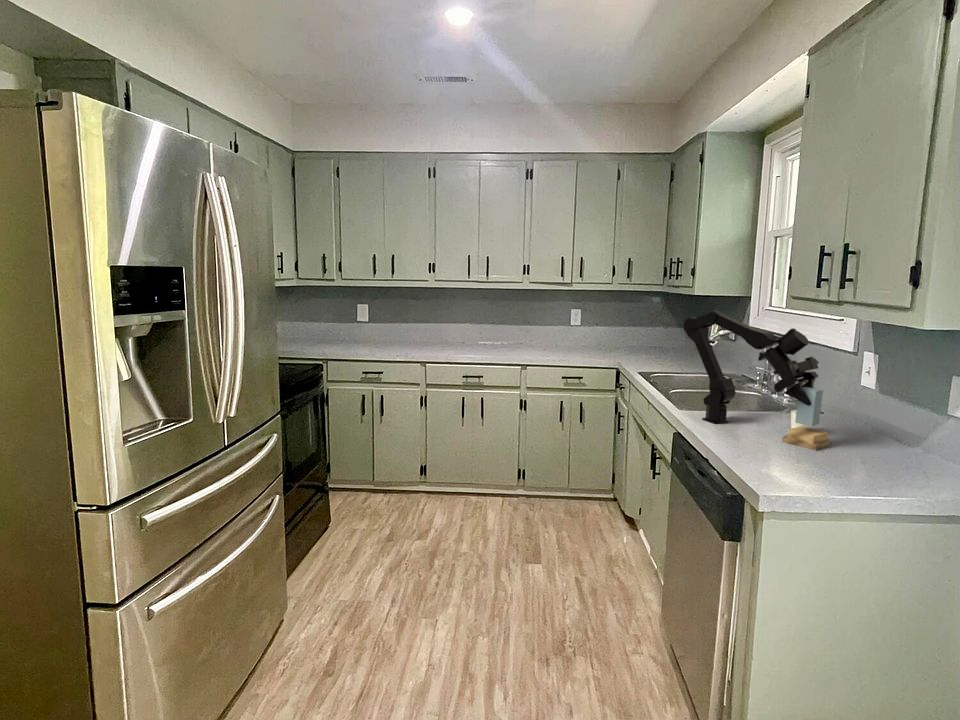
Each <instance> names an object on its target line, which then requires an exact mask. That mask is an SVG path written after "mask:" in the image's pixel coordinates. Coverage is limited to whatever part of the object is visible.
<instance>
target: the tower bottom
mask: <svg viewBox="0 0 960 720" xmlns="http://www.w3.org/2000/svg"><path fill="white" fill-rule="evenodd" d="M781 442H782V443H785V444H787V445H792V446H796V447H799V446H800V448H803V447H804V449H807V448H808V450H811V449H812V450H811V451H815V450H816V451H818V450H820V448H821V449H823V448H826V447H828V446H830V445H831V439H830V438H827V440H826V441H822V442H819V443H815V444H811V443H808V442H804V441H800V440H797V439H793V438H790V437H788V434H786V435H784V436H782V441H781ZM825 446H826V447H825Z"/></svg>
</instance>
